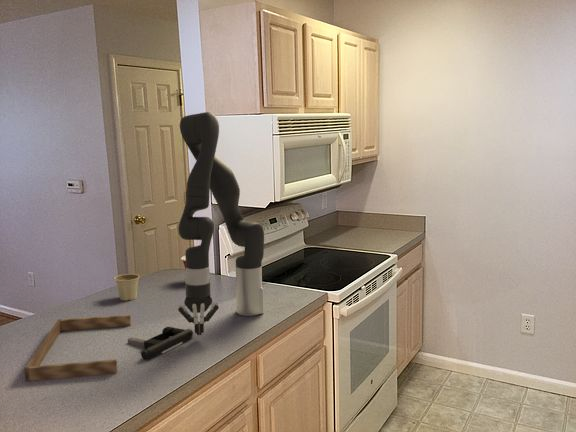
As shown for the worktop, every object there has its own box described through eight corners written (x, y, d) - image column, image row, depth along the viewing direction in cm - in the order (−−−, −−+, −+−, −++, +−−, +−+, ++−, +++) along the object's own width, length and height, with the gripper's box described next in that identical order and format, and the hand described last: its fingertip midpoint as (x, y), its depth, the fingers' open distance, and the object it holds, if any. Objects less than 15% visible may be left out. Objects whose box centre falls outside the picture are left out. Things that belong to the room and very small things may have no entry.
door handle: (112, 343, 153) (149, 352, 145) (160, 322, 170) (197, 328, 162) (113, 353, 154) (150, 363, 145) (161, 331, 170) (198, 338, 162)
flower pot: (118, 294, 205) (117, 274, 204) (142, 294, 206) (141, 273, 204) (113, 302, 196) (111, 280, 194) (138, 301, 197) (136, 280, 195)
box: (130, 324, 174) (130, 314, 173) (116, 373, 139) (115, 360, 138) (58, 329, 169) (58, 319, 169) (25, 381, 134) (24, 368, 134)
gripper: (218, 276, 162) (219, 328, 165) (176, 278, 160) (178, 331, 163) (220, 283, 155) (221, 337, 158) (175, 285, 152) (177, 340, 155)
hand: (199, 334), depth 160 cm, fingers closed
